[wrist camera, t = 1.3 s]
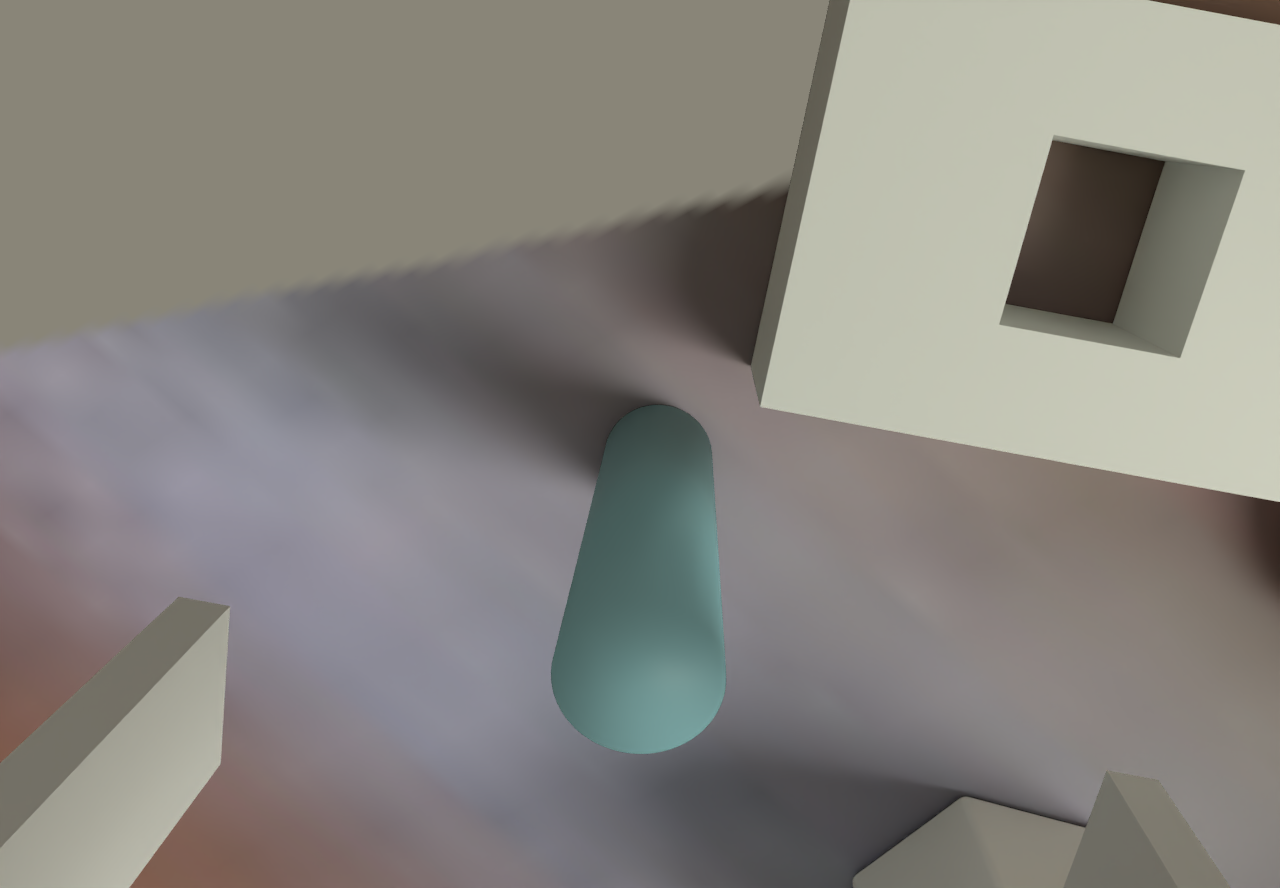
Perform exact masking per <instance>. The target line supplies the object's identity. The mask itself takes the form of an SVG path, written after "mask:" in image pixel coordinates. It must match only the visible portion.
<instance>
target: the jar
mask: <svg viewBox="0 0 1280 888" xmlns="http://www.w3.org/2000/svg"><path fill="white" fill-rule="evenodd" d="M1084 831H1085V827H1081V826H1077V825H1073V824H1069V823H1065V822H1062V821H1058V820H1054V819H1050V818H1047V817H1043V816H1039V815H1035V814H1031V813H1028V812H1024V811H1020V810H1016V809H1012V808H1009V807H1005V806H1001V805H997V804H994V803H990V802H986V801H982V800H979V799H975V798H971V797H965V796H964V797H961V798H959V799H958V800H957V801H955V802H954V803H953V804H951V805H950V806H948V807H947V808H946V809H944V810H943V811H942V812H940V813H939V814H938V815H936V816H935V817H934V818H932V819H931V820H930V821H928V822H927V823H926V824H924V825H923V826H921V827H920V828H919V829H917V830H916V831H915V832H913V833H912V834H911V835H909V836H908V837H907V838H905V839H904V840H902V841H901V842H900V843H898V844H897V845H896V846H894V847H893V848H892V849H890V850H889V851H888V852H886V853H885V854H883V855H882V856H881V857H879V858H878V859H877V860H875V861H874V862H873V863H871V864H870V865H868V866H867V867H866V868H864V869H863V870H862V871H860V872H859V873H857V874H856V875H855V876H854V878H853V888H1063V887H1064V885H1065V882H1066V879H1067V876H1068V874H1069V871H1070V868H1071V866H1072V863H1073V860H1074V858H1075V855H1076V852H1077V850H1078V847H1079V844H1080V842H1081V839H1082V836H1083V833H1084Z"/></svg>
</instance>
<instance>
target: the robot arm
mask: <svg viewBox="0 0 1280 888" xmlns="http://www.w3.org/2000/svg"><path fill="white" fill-rule="evenodd" d="M229 615H230V606H225V605H220V604H214V603H209V602H204V601H198V600H193V599H188V598H182V597H178V598H177V599H176V600H175V601H174V602H173V603H172V604H171V605H170V606H169V607H167V608H166V609H165V610H164V611H163V612H162V613H161V614H160V615H159V616H158V617H157V618H156V619H155V620H154V621H152V622H151V623H150V624H149V625H148V626H147V627H146V628H145V629H144V630H143V631H142V632H141V633H140V634H138V635H137V636H136V637H135V638H134V639H133V640H132V641H131V642H130V643H129V644H128V645H127V646H126V647H125V648H123V649H122V650H121V651H120V652H119V653H118V654H117V655H116V656H115V657H114V658H113V659H112V660H111V661H109V662H108V663H107V664H106V665H105V666H104V667H103V668H102V669H101V670H100V671H99V672H98V673H97V674H96V675H94V676H93V677H92V678H91V679H90V680H89V681H88V682H87V683H86V684H85V685H84V686H83V687H82V688H81V689H79V690H78V691H77V692H76V693H75V694H74V695H73V696H72V697H71V698H70V699H69V700H68V701H67V702H65V703H64V704H63V705H62V706H61V707H60V708H59V709H58V710H57V711H56V712H55V713H54V714H53V715H52V716H50V717H49V718H48V719H47V720H46V721H45V722H44V723H43V724H42V725H41V726H40V727H39V728H38V729H36V730H35V731H34V732H33V733H32V734H31V735H30V736H29V737H28V738H27V739H26V740H25V741H24V742H23V743H21V744H20V745H19V746H18V747H17V748H16V749H15V750H14V751H13V752H12V753H11V754H10V755H9V756H8V757H6V758H5V759H4V760H3V761H2V762H1V763H0V888H129V887H130V886H131V885H132V883H133V882H134V881H135V879H136V878H137V876H138V875H139V874H140V872H141V871H142V870H143V868H144V867H145V866H146V864H147V863H148V862H149V860H150V859H151V857H152V856H153V855H154V853H155V852H156V851H157V849H158V848H159V847H160V845H161V844H162V843H163V841H164V840H165V838H166V837H167V836H168V834H169V833H170V832H171V830H172V829H173V828H174V826H175V825H176V824H177V822H178V821H179V819H180V818H181V817H182V815H183V814H184V813H185V811H186V810H187V809H188V807H189V806H190V805H191V803H192V802H193V800H194V799H195V798H196V796H197V795H198V794H199V792H200V791H201V790H202V788H203V787H204V786H205V784H206V783H207V781H208V780H209V779H210V777H211V776H212V775H213V773H214V772H215V771H216V769H217V768H218V767H219V765H220V764H221V749H222V732H223V715H224V698H225V682H226V665H227V648H228V631H229ZM1063 888H1230V886H1229V885H1228V883H1227V882H1226V880H1225V879H1224V877H1223V876H1222V874H1221V873H1220V871H1219V870H1218V868H1217V867H1216V865H1215V864H1214V862H1213V861H1212V859H1211V858H1210V856H1209V855H1208V853H1207V852H1206V850H1205V849H1204V847H1203V846H1202V845H1201V843H1200V842H1199V840H1198V839H1197V837H1196V836H1195V834H1194V833H1193V831H1192V830H1191V828H1190V827H1189V825H1188V824H1187V822H1186V821H1185V819H1184V818H1183V816H1182V815H1181V813H1180V812H1179V810H1178V809H1177V807H1176V806H1175V804H1174V803H1173V801H1172V800H1171V798H1170V797H1169V796H1168V794H1167V793H1166V791H1165V790H1164V788H1163V787H1162V785H1161V784H1160V782H1159V781H1158V780H1155V779H1149V778H1144V777H1139V776H1133V775H1128V774H1123V773H1117V772H1112V771H1107V772H1106V774H1105V777H1104V780H1103V782H1102V785H1101V788H1100V790H1099V793H1098V796H1097V799H1096V801H1095V804H1094V807H1093V809H1092V812H1091V815H1090V817H1089V820H1088V823H1087V825H1086V828H1085V831H1084V833H1083V836H1082V839H1081V842H1080V844H1079V847H1078V850H1077V852H1076V855H1075V858H1074V860H1073V863H1072V866H1071V868H1070V871H1069V874H1068V876H1067V879H1066V882H1065V885H1064V887H1063Z"/></svg>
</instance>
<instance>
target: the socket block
mask: <svg viewBox="0 0 1280 888" xmlns="http://www.w3.org/2000/svg"><path fill="white" fill-rule="evenodd" d="M1052 140H1054V141H1059V142H1064V143H1070V144H1075V145H1080V146H1086V147H1091V148H1096V149H1102V150H1107V151H1112V152H1118V153H1123V154H1129V155H1134V156H1139V157H1145V158H1150V159H1155V160H1161V161H1165V163H1164V166H1163V169H1162V172H1161V176H1160V179H1159V182H1158V185H1157V188H1156V191H1155V194H1154V197H1153V200H1152V204H1151V207H1150V210H1149V213H1148V216H1147V219H1146V222H1145V225H1144V228H1143V231H1142V235H1141V238H1140V241H1139V244H1138V247H1137V250H1136V253H1135V256H1134V259H1133V263H1132V266H1131V269H1130V272H1129V275H1128V278H1127V281H1126V284H1125V287H1124V290H1123V294H1122V297H1121V300H1120V303H1119V306H1118V309H1117V312H1116V315H1115V318H1114V321H1113V324H1112V323H1107V322H1101V321H1096V320H1090V319H1085V318H1080V317H1074V316H1069V315H1063V314H1058V313H1053V312H1047V311H1042V310H1036V309H1031V308H1025V307H1020V306H1015V305H1009V304H1005V302H1006V299H1007V296H1008V292H1009V289H1010V285H1011V282H1012V278H1013V275H1014V271H1015V268H1016V264H1017V261H1018V257H1019V254H1020V250H1021V247H1022V243H1023V240H1024V236H1025V233H1026V230H1027V226H1028V223H1029V219H1030V216H1031V212H1032V209H1033V205H1034V202H1035V198H1036V195H1037V191H1038V188H1039V184H1040V181H1041V177H1042V174H1043V171H1044V167H1045V164H1046V160H1047V157H1048V153H1049V150H1050V146H1051V143H1052ZM751 370H752V374H753V379H754V383H755V387H756V392H757V396H758V400H759V404H760V407H764V408H769V409H775V410H780V411H786V412H791V413H797V414H802V415H807V416H813V417H818V418H824V419H829V420H835V421H840V422H846V423H851V424H857V425H862V426H868V427H873V428H878V429H884V430H889V431H895V432H900V433H906V434H911V435H917V436H922V437H928V438H933V439H939V440H944V441H949V442H955V443H960V444H966V445H971V446H977V447H982V448H988V449H993V450H999V451H1004V452H1010V453H1015V454H1020V455H1026V456H1031V457H1037V458H1042V459H1048V460H1053V461H1059V462H1064V463H1070V464H1075V465H1081V466H1086V467H1091V468H1097V469H1102V470H1108V471H1113V472H1119V473H1124V474H1130V475H1135V476H1141V477H1146V478H1151V479H1157V480H1162V481H1168V482H1173V483H1179V484H1184V485H1190V486H1195V487H1201V488H1206V489H1212V490H1217V491H1222V492H1228V493H1233V494H1239V495H1244V496H1250V497H1255V498H1261V499H1266V500H1272V501H1277V502H1280V25H1277V24H1272V23H1266V22H1261V21H1256V20H1251V19H1245V18H1240V17H1235V16H1229V15H1224V14H1219V13H1213V12H1208V11H1203V10H1197V9H1192V8H1187V7H1181V6H1176V5H1171V4H1166V3H1160V2H1155V1H1150V0H830V1H829V6H828V11H827V15H826V20H825V25H824V30H823V34H822V38H821V44H820V48H819V53H818V57H817V62H816V66H815V71H814V76H813V81H812V85H811V89H810V94H809V99H808V103H807V108H806V113H805V117H804V122H803V127H802V131H801V137H800V140H799V145H798V150H797V154H796V159H795V164H794V168H793V173H792V178H791V182H790V187H789V191H788V196H787V201H786V205H785V210H784V215H783V219H782V224H781V229H780V233H779V238H778V242H777V247H776V252H775V256H774V261H773V266H772V270H771V275H770V280H769V284H768V289H767V293H766V298H765V303H764V307H763V312H762V317H761V321H760V326H759V331H758V335H757V340H756V344H755V349H754V354H753V358H752V363H751Z"/></svg>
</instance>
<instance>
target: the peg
mask: <svg viewBox="0 0 1280 888" xmlns="http://www.w3.org/2000/svg"><path fill="white" fill-rule="evenodd" d="M551 682H552V688H553V693H554V696H555V698H556V701H557V704H558V705H559V707H560V709H561V711H562V713H563V714H564V716H565V717H566V718H567V720H568V721H569V722H570V723H571V724H572V725H573V727H574V728H575V729H577V730H578V731H579V732H580V733H581V734H582V735H584V736H585V737H587V738H588V739H590V740H591V741H593V742H595V743H597V744H599V745H601V746H603V747H606V748H609V749H612V750H616V751H620V752H624V753H633V754H649V753H657V752H662V751H666V750H670V749H673V748H675V747H678V746H680V745H682V744H684V743H686V742H688V741H690V740H691V739H693V738H694V737H696V736H697V735H698V734H699V733H700V732H702V731H703V730H704V729H705V728H706V727H707V726H708V725H709V723H710V722H711V721H712V720H713V718H714V717H715V715H716V714H717V712H718V710H719V708H720V706H721V703H722V700H723V697H724V694H725V687H726V665H725V649H724V634H723V618H722V603H721V587H720V572H719V556H718V540H717V525H716V509H715V494H714V478H713V463H712V450H711V445H710V441H709V438H708V436H707V434H706V432H705V430H704V429H703V427H702V426H701V425H700V424H699V422H698V421H697V420H696V419H694V418H693V417H692V416H691V415H689V414H688V413H686V412H684V411H682V410H680V409H678V408H675V407H671V406H666V405H650V406H645V407H641V408H638V409H636V410H633V411H632V412H630V413H628V414H627V415H625V416H624V417H623V418H621V419H620V420H619V421H618V422H617V424H616V425H615V426H614V428H613V429H612V431H611V433H610V434H609V437H608V439H607V443H606V447H605V451H604V455H603V459H602V463H601V467H600V471H599V475H598V479H597V483H596V487H595V491H594V495H593V499H592V503H591V507H590V511H589V515H588V519H587V523H586V528H585V532H584V536H583V540H582V544H581V548H580V552H579V556H578V560H577V564H576V568H575V572H574V576H573V580H572V584H571V588H570V592H569V596H568V600H567V604H566V608H565V612H564V616H563V620H562V624H561V628H560V632H559V636H558V640H557V645H556V649H555V653H554V657H553V661H552V668H551Z"/></svg>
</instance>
